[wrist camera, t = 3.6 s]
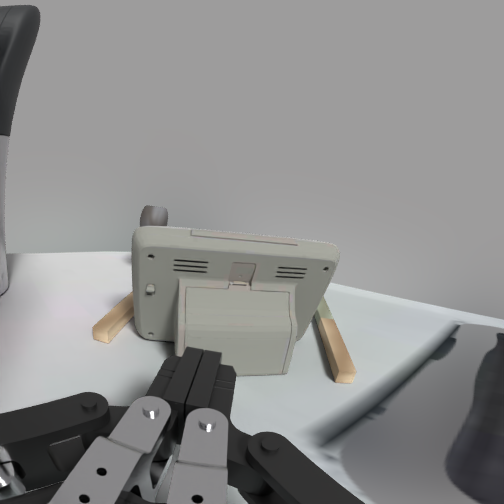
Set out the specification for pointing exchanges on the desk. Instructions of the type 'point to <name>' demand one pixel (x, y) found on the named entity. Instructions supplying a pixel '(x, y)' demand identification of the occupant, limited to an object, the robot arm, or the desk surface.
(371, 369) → the desk surface
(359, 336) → the desk surface
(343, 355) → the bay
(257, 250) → the digital clock
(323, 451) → the desk surface
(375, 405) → the desk surface
